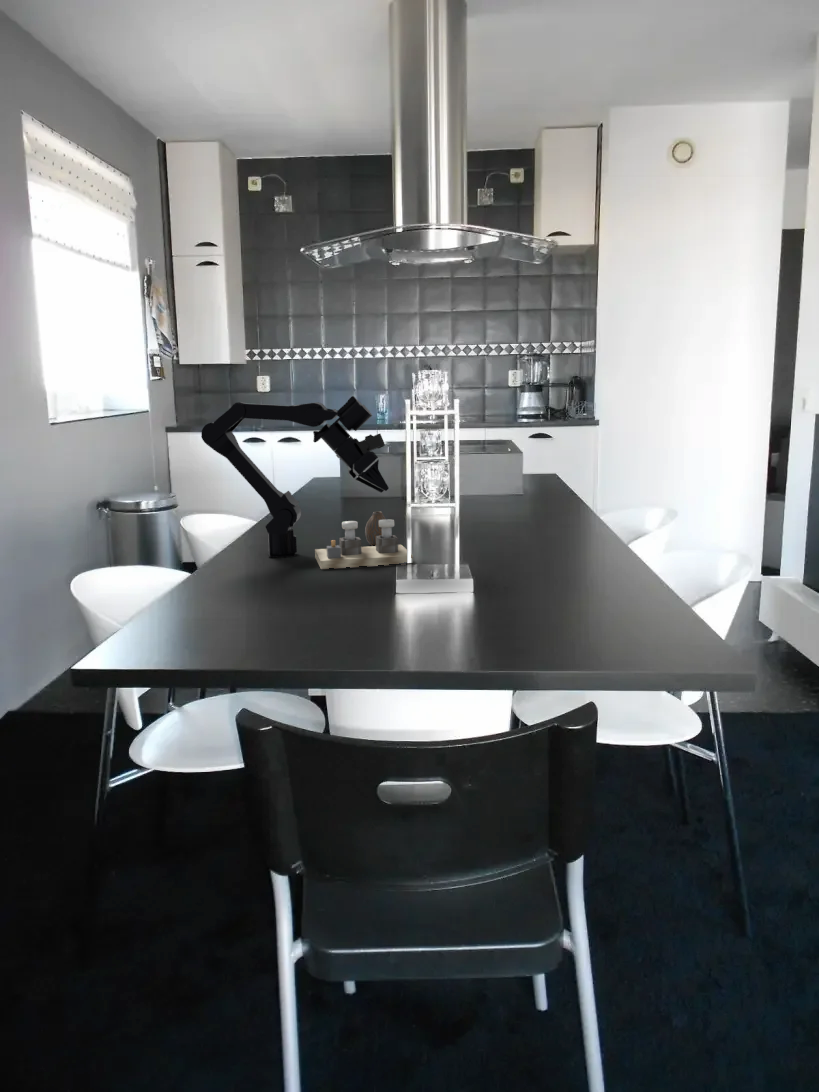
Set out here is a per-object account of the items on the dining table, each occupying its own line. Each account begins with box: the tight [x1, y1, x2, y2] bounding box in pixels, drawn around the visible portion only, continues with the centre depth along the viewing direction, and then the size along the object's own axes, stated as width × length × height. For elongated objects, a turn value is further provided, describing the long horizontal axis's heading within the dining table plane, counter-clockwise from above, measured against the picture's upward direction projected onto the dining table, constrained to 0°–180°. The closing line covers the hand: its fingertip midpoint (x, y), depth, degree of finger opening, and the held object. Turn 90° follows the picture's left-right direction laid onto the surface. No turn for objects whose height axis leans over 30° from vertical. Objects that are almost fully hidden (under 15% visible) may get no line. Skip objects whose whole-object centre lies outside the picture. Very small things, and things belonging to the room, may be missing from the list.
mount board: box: [314, 534, 414, 570], centre depth 201 cm, size 22×14×6 cm, turn 102°
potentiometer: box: [326, 539, 341, 559], centre depth 196 cm, size 3×3×4 cm
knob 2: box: [379, 518, 395, 538], centre depth 202 cm, size 4×4×5 cm
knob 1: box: [341, 520, 359, 540], centre depth 200 cm, size 4×4×5 cm
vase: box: [364, 511, 387, 546], centre depth 221 cm, size 7×7×9 cm
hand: (385, 490), depth 206 cm, fingers open, 9 cm apart
